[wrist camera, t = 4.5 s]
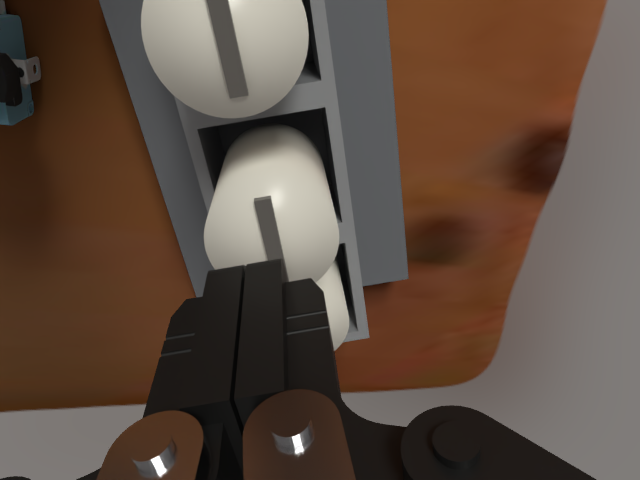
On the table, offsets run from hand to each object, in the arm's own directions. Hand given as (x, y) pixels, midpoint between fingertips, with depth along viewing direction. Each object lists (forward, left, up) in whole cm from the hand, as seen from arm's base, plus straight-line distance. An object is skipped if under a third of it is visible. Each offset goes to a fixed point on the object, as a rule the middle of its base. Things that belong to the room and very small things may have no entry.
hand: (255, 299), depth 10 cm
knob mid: (+1, 0, -11) cm, 11 cm away
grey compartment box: (+1, 0, -18) cm, 18 cm away
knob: (-5, 0, -11) cm, 12 cm away
